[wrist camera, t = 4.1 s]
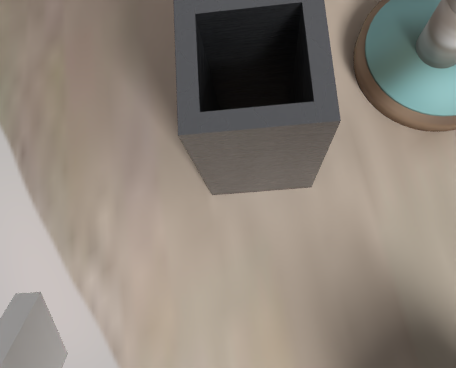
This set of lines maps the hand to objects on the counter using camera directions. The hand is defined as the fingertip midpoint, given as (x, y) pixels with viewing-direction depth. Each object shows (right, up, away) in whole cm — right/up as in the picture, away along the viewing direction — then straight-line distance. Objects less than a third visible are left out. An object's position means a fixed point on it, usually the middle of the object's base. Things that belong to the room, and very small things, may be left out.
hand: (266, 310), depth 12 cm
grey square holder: (+1, +7, +18) cm, 19 cm away
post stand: (+14, +13, +19) cm, 26 cm away
